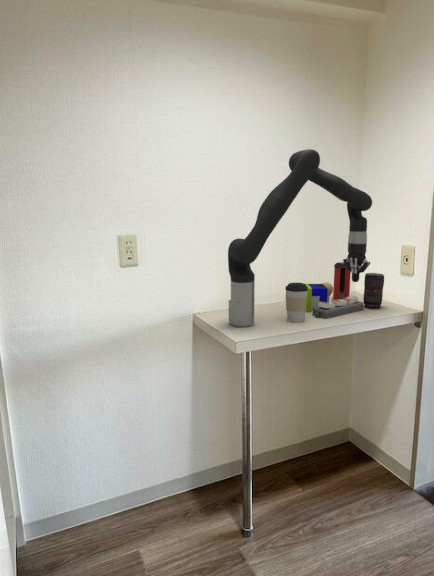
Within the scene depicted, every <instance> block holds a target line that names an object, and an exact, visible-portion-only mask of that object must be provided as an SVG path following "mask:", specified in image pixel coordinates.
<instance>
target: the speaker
mask: <svg viewBox="0 0 434 576" xmlns="http://www.w3.org/2000/svg"><path fill="white" fill-rule="evenodd" d="M333 267H334V269H333V271H334V273H333V274H334V275H333V292H332V299H335V300H340V299H341V300H343V299H344V298H347V297H349V296H350V292H351V291H350V289H351V288H350V287H351V276H352V273H351V272H350V271H348V269H347V267H346V265H345V264H344V262H335V264H334V266H333Z"/></svg>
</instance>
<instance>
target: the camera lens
mask: <svg viewBox="0 0 434 576" xmlns="http://www.w3.org/2000/svg"><path fill="white" fill-rule="evenodd" d="M363 283H364V288H363V303H364V306H363V308H366V309H370V310H371V309H372V310H375V309H376V310H378V309H380V308H381V305H382V301H383V296H384V295H383V294H384V293H383V292H384V285H385V274H383V273H376V272H367V273H365V275H364V282H363Z"/></svg>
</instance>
